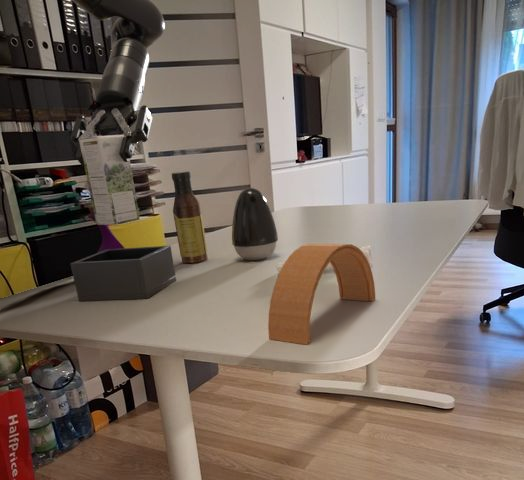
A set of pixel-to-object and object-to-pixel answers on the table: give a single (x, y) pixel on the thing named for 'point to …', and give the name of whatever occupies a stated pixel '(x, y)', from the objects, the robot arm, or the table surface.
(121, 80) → the robot arm
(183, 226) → the sauce bottle
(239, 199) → the black white egg shape
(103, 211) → the syrup box
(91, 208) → the purple potion bottle
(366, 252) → the figurine
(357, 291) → the arch
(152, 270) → the open box
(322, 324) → the table surface
